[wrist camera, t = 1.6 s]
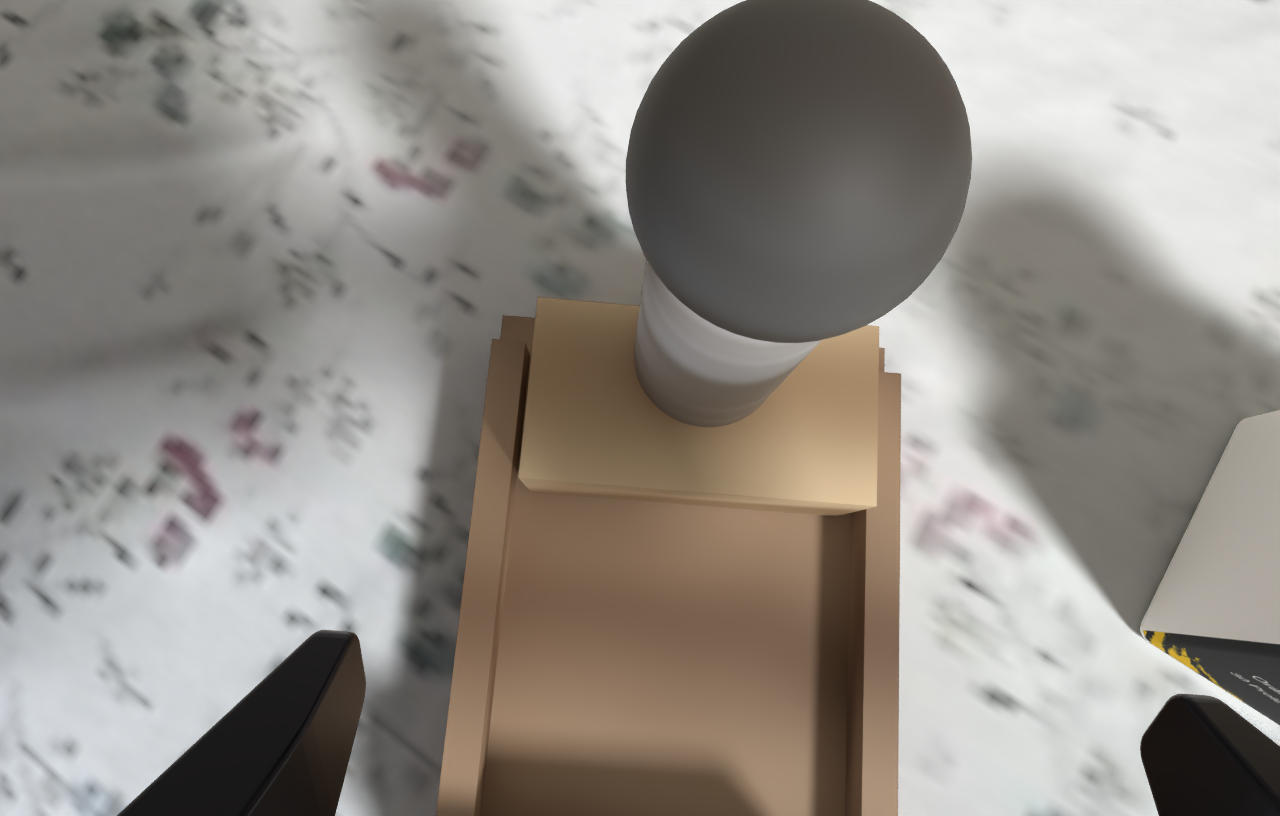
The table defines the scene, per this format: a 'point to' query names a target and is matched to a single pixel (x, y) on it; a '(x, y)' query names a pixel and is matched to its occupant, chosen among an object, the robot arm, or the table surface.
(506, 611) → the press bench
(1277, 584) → the medicine bottle
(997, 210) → the table surface
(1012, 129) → the table surface
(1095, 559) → the table surface
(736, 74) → the press handle
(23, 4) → the table surface
